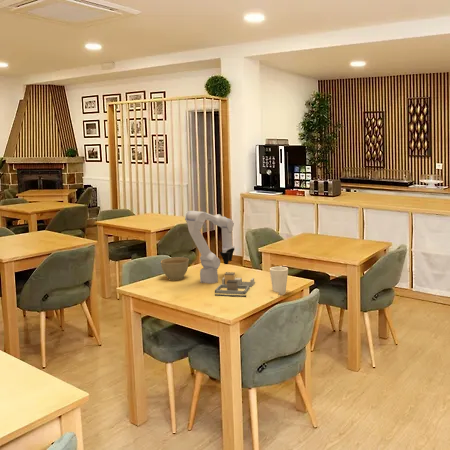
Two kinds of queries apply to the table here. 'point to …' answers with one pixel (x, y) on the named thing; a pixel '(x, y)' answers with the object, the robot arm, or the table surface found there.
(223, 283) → the block
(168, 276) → the planter bowl
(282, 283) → the foam cup
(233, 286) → the block
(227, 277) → the fuse
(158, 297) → the table surface
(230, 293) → the parts tray
